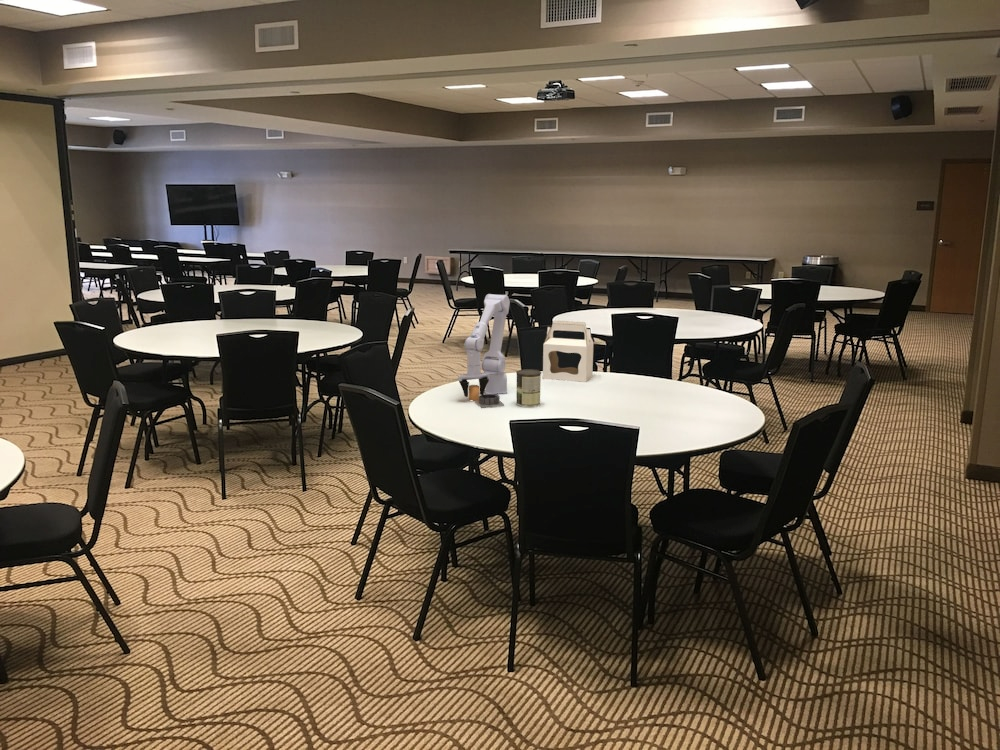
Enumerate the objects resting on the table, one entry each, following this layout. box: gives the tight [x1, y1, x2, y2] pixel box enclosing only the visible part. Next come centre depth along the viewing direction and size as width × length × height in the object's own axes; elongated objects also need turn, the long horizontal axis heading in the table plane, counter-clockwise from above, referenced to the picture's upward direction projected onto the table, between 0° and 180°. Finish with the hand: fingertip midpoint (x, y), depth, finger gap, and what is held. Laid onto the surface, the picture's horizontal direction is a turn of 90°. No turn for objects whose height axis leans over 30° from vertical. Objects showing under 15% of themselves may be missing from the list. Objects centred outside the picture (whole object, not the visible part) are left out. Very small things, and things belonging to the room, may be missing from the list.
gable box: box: [542, 320, 594, 383], centre depth 375 cm, size 22×13×28 cm, turn 70°
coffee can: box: [515, 368, 542, 408], centre depth 323 cm, size 10×10×14 cm
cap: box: [468, 384, 480, 402], centre depth 331 cm, size 4×4×6 cm
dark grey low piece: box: [474, 393, 505, 409], centre depth 323 cm, size 10×10×4 cm
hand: (473, 395), depth 332 cm, fingers open, 7 cm apart
